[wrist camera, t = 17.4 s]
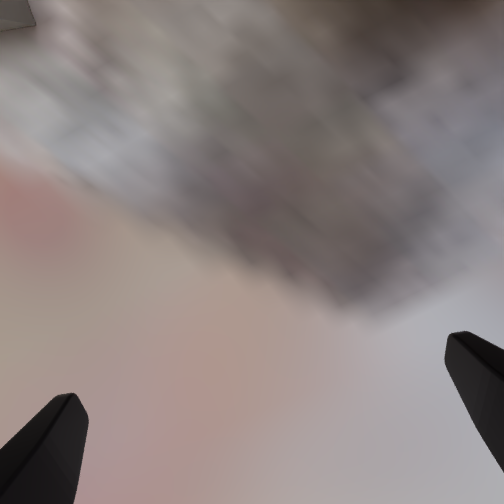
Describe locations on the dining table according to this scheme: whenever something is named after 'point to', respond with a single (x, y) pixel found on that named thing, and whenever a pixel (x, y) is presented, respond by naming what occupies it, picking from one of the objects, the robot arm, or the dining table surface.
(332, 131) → the dining table surface
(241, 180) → the dining table surface
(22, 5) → the trough
